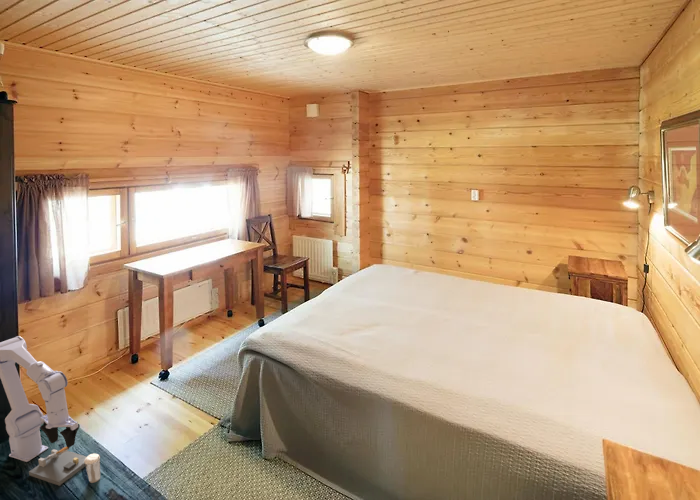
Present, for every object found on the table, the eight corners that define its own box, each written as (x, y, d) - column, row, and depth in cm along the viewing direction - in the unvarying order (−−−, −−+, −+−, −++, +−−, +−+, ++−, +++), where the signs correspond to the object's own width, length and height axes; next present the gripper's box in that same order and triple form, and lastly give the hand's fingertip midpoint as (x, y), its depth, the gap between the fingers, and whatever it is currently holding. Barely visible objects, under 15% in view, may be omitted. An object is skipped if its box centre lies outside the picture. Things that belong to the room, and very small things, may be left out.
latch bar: (44, 461, 145) (42, 458, 145) (52, 456, 148) (50, 453, 148) (61, 454, 141) (59, 451, 141) (69, 449, 144) (67, 445, 144)
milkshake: (97, 485, 138) (93, 460, 136) (83, 483, 139) (80, 457, 137) (107, 476, 142) (104, 450, 140) (94, 473, 143) (91, 448, 141)
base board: (29, 475, 142) (27, 465, 141) (62, 452, 153) (61, 443, 152) (59, 485, 138) (57, 475, 137) (91, 461, 149) (90, 451, 148)
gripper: (29, 411, 138) (35, 446, 141) (61, 418, 134) (67, 455, 136) (49, 399, 144) (55, 434, 147) (81, 406, 140) (86, 442, 143)
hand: (62, 443), depth 142 cm, fingers open, 7 cm apart
